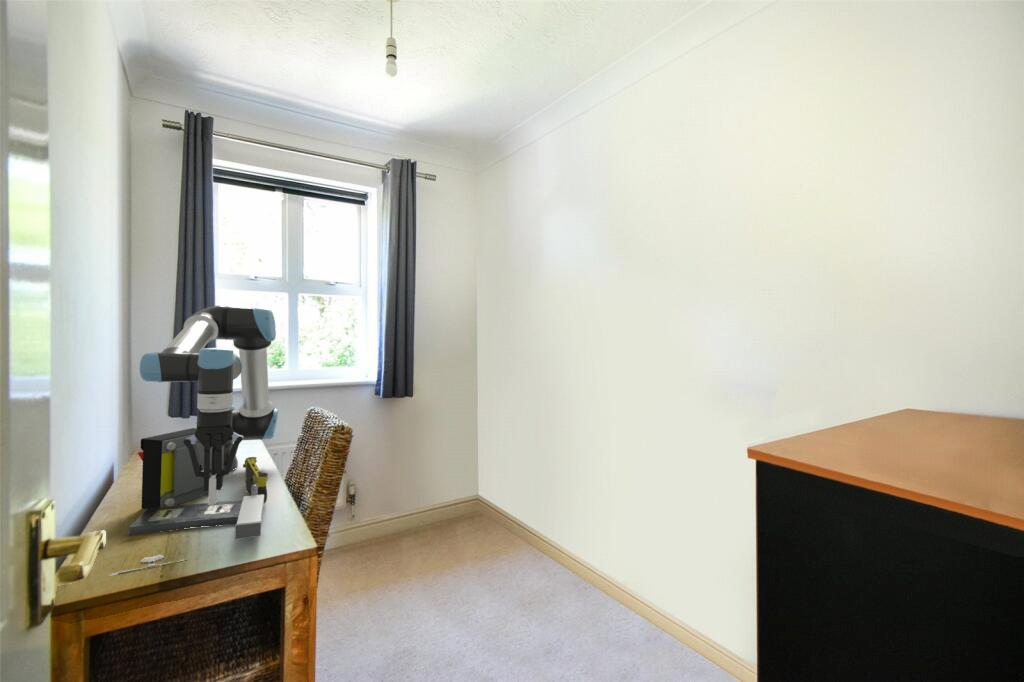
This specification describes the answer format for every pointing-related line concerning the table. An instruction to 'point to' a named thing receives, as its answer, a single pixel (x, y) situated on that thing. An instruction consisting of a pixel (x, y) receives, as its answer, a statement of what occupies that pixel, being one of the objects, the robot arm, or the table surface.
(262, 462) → the table surface
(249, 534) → the light grey rectangular bar
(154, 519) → the label board
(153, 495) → the electrical component
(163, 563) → the picture light
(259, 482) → the gaming console
